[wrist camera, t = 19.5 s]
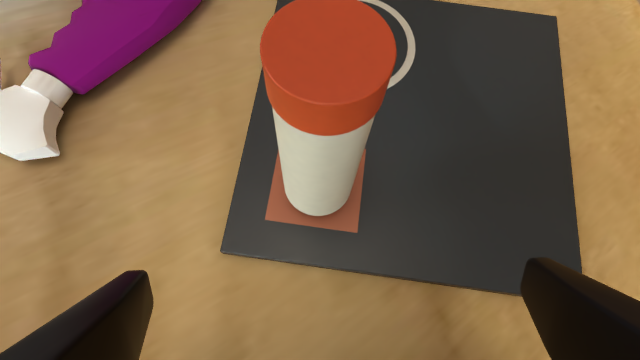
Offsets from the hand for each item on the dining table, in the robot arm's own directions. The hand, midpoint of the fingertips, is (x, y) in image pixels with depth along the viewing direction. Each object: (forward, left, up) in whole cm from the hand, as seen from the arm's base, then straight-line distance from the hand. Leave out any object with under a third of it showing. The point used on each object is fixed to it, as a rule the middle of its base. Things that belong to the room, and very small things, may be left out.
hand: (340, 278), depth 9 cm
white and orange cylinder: (+1, -6, -11) cm, 13 cm away
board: (-4, -11, -12) cm, 17 cm away
